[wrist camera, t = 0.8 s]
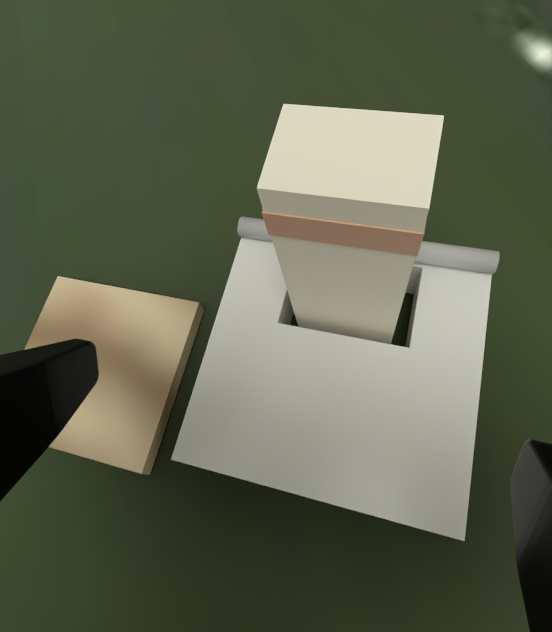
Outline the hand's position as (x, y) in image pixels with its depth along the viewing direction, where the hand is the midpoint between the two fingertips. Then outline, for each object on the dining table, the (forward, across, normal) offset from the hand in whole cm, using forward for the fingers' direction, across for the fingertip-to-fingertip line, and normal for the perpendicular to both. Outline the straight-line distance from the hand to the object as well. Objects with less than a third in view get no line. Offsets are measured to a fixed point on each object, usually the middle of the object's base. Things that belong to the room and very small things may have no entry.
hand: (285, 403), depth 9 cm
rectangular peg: (+14, 0, +4) cm, 15 cm away
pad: (+10, +12, +8) cm, 18 cm away
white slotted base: (+12, 0, +6) cm, 14 cm away
